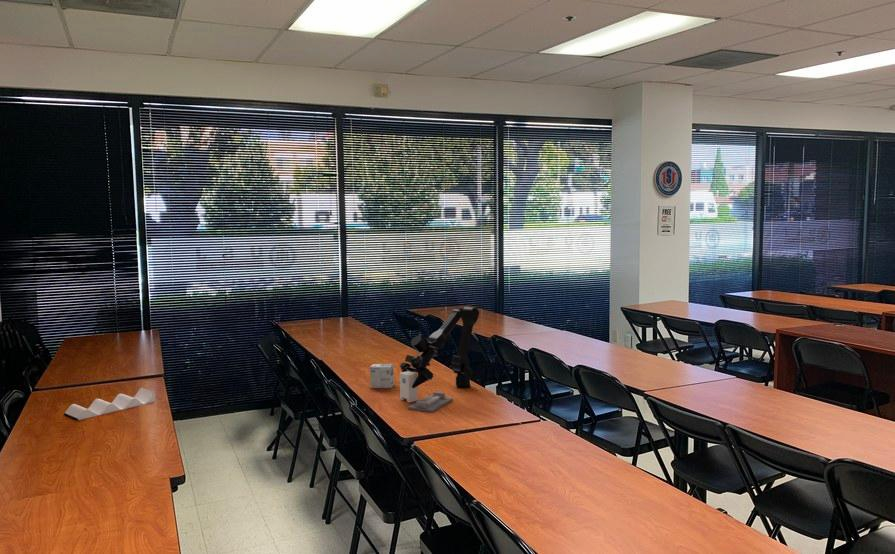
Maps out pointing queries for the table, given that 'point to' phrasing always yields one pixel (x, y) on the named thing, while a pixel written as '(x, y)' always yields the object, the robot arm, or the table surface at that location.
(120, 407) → the grey zigzag strip
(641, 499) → the table surface
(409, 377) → the block
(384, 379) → the light bulb box
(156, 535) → the table surface
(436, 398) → the rail plate
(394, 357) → the table surface
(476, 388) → the table surface
